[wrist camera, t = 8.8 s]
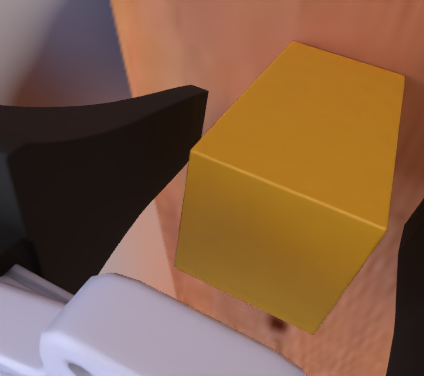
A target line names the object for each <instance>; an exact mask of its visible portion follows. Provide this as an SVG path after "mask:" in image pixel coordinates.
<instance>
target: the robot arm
mask: <svg viewBox="0 0 424 376" xmlns="http://www.w3.org/2000/svg"><path fill="white" fill-rule="evenodd" d="M207 98H208V91H207V90H204V89H202V88H199V87H196V86H193V85H187V86H182V87H177V88H173V89H169V90H165V91H161V92H157V93H153V94H149V95H145V96H140V97H135V98H130V99H126V100H121V101H116V102H110V103H103V104H95V105H86V106H70V107H18V106H17V107H16V106H3V105H0V376H307V375H306V374H305V372H304V371H303V370H302V368H300V367H299V366H297V365H296V364H294V363H293V362H292V361H290V360H289V359H287V358H286V357H284V356H283V355H281V354H280V353H279V352H277V351H276V350H274V349H272V348H270V347H268V346H266V345H265V344H263V343H261V342H259V341H257V340H255V339H253V338H251V337H249V336H247V335H245V334H243V333H241V332H239V331H237V330H235V329H233V328H231V327H229V326H227V325H225V324H223V323H221V322H220V321H218V320H216V319H214V318H212V317H210V316H208V315H206V314H204V313H202V312H200V311H198V310H196V309H194V308H192V307H190V306H188V305H186V304H184V303H182V302H180V301H178V300H176V299H175V298H173V297H170V296H169V295H167V294H164V293H163V292H161V291H159V290H157V289H155V288H153V287H151V286H149V285H147V284H145V283H143V282H141V281H139V280H136V279H133V278H129V277H126V276H123V275H120V274H117V273H107V274H102V275H98V274H99V272H100V271H101V269H102V268H103V266H104V265H105V263H106V261H107V260H108V259H109V257H110V256H111V254H112V253H113V251H114V250H115V248H116V247H117V246H118V244H119V243H120V241H121V240H122V238H123V237H124V236H125V234H126V233H127V231H128V230H129V229H130V227H131V226H132V225H133V223H134V222H135V221H136V219H137V218H138V217H139V215H140V214H141V213H142V211H143V210H144V209H145V208H146V207H147V206H148V205H149V203H150V202H151V201H152V200H153V199H154V198H155V197H156V196H157V195H158V194H159V193H160V192H161V191H162V190H163V189H164V188H165V187H166V185H167V184H168V183H169V182H170V181H171V180H172V179H173V178H174V177H175V176H176V175H177V174H178V173H179V171H180V170H181V169H182V168H183V167H184V166H185V165H186V164H187V162H188V161H189V156H190V150H191V149H192V148H193V147H194V146H195V145H196V144H197V142H198V141H199V140H200V139H201V135H202V129H203V123H204V116H205V110H206V104H207ZM386 376H424V199H423V200H422V202H421V203H420V205H419V206H418V207H417V209H416V210H415V211H414V213H413V214H412V215H411V217H410V218H409V220H408V221H407V222H406V224H405V225H404V229H403V234H402V238H401V242H400V247H399V253H398V268H397V290H396V313H395V326H394V335H393V340H392V346H391V352H390V358H389V363H388V368H387V373H386Z"/></svg>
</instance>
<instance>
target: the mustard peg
mask: <svg viewBox="0 0 424 376" xmlns="http://www.w3.org/2000/svg"><path fill="white" fill-rule="evenodd" d="M404 83H405V76H404V75H401V74H398V73H394V72H391V71H388V70H385V69H382V68H378V67H375V66H372V65H369V64H366V63H362V62H359V61H356V60H353V59H350V58H346V57H343V56H340V55H337V54H333V53H330V52H327V51H324V50H321V49H317V48H314V47H311V46H308V45H305V44H301V43H298V42H295V41H292V42H291V43H290V44H289V45H288V46H287V47H286V48H285V49H284V50H283V51H282V53H281V54H280V55H279V56H278V57H277V58H276V59H275V60H274V61H273V62H272V63H271V64H270V65H269V66H268V67H267V69H266V70H265V71H264V72H263V73H262V74H261V75H260V76H259V77H258V78H257V79H256V80H255V81H254V82H253V84H252V85H251V86H250V87H249V88H248V89H247V90H246V91H245V92H244V93H243V94H242V95H241V96H240V97H239V99H238V100H237V101H236V102H235V103H234V104H233V105H232V106H231V107H230V108H229V109H228V110H227V111H226V112H225V114H224V115H223V116H222V117H221V118H220V119H219V120H218V121H217V122H216V123H215V124H214V125H213V126H212V127H211V129H210V130H209V131H208V132H207V133H206V134H205V135H204V136H203V137H202V138H201V139H200V140H199V141H198V142H197V144H196V145H195V146H194V147H193V148H192V149H191V150H190V156H189V163H188V170H187V177H186V185H185V192H184V199H183V206H182V213H181V220H180V228H179V235H178V242H177V249H176V256H175V263H174V267H175V268H177V269H179V270H181V271H183V272H185V273H187V274H189V275H191V276H193V277H195V278H197V279H199V280H202V281H204V282H206V283H208V284H210V285H212V286H214V287H216V288H218V289H220V290H222V291H224V292H226V293H228V294H230V295H232V296H234V297H236V298H238V299H240V300H242V301H244V302H247V303H249V304H251V305H253V306H255V307H257V308H259V309H261V310H263V311H265V312H267V313H269V314H271V315H273V316H275V317H277V318H279V319H281V320H283V321H285V322H287V323H289V324H292V325H294V326H296V327H298V328H300V329H302V330H304V331H306V332H308V333H310V334H313V335H314V334H315V333H316V331H317V330H318V329H319V327H320V326H321V324H322V323H323V321H324V320H325V319H326V317H327V316H328V314H329V313H330V311H331V310H332V309H333V307H334V306H335V304H336V303H337V301H338V300H339V299H340V297H341V296H342V294H343V293H344V291H345V290H346V289H347V287H348V286H349V284H350V283H351V281H352V280H353V279H354V277H355V276H356V274H357V273H358V271H359V270H360V269H361V267H362V266H363V264H364V263H365V261H366V260H367V259H368V257H369V256H370V254H371V253H372V252H373V250H374V249H375V247H376V246H377V244H378V243H379V242H380V240H381V239H382V237H383V236H384V234H385V233H386V232H387V228H388V220H389V211H390V203H391V194H392V185H393V177H394V168H395V160H396V151H397V143H398V134H399V126H400V117H401V109H402V100H403V92H404Z"/></svg>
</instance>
